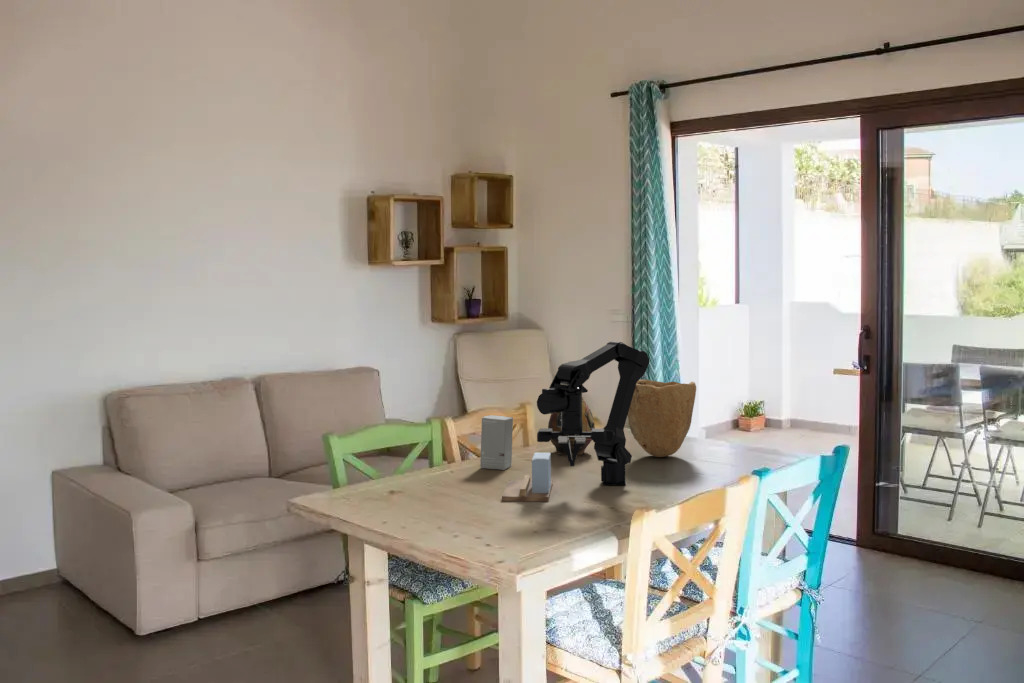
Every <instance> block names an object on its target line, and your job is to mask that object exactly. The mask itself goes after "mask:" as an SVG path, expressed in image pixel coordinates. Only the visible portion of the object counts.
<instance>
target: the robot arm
mask: <svg viewBox="0 0 1024 683" xmlns="http://www.w3.org/2000/svg"><path fill="white" fill-rule="evenodd" d="M613 361H616V362H617V370H618V374H619V380H618V383H617V387H616V390H615V394H614V397H613V402H612V404H611V408H610V412H609V416H608V419H607V422H606V425H605V426H604V427H603V428H595V429H592V432H582V431H583V421H582V397H583V393H588V392H589V390H588V389H587V388H586V387H585V386H584V384H585V383H586V382H587V381H588V380H590V377H591V375H592V374H593V373H594V372H595V371H597V370H599V369H602V367H604V366H606V365H607V364H609V363H610V362H613ZM649 365H650V357H649V355H648V353H647V352H646V351H645V350H639V349H636V348H634V347H631V346H629V345H627V344H625V343H623V342H622V341H613V340H612V341H608V342H607V343H606V345H603V346H602V347H600V348H599V349H596V350H595V351H593V352H592V353H589V354H588V355H587V356H584V357H583V358H581V359H577V360H573V361H568V362H565V363H561V364H560V365H559V366H558V368H557V371H556V373H555V376H554V377H553V379H552V381H551V383H550V385H549V388H542V390H541V393H540V394H539V396H537V397H538V398H537V400H536V406H537V410H538V411H539V413H541V414H542V415H551V413H557V412H561V415H557V427H561V432H553V430H552V428H548V427H547V428H546V427H545V428H543V427H542V428H539V429H538V431H537V433H536V442H538V443H549V442H551V438H558V440H559V442H558V445H562V447H563V449H564V451H565V453H566V455H565V456H566V457H567V460H568V463H569V466H570V467H574V466H575V462H576V459H577V456H578V455H577V454H578V451H579V449H580V447H581V445H585V440H586V439H592V441H593V443H594V444H593V449H594V451H595V454H596V457H597V460H598V461H599V462H602V465H601V466H600V479H601V481H600V482H602V485H603V486H626V485H627V480H626V465H628V464H631V461H632V456H633V455H632V454H631V453H630V451H629V450H628V449H627V448H626V442H627V439H626V436H625V431H624V430H625V425H626V422H627V420H628V412H629V408H630V405H631V401H632V398H633V394H634V391H635V387H636V384H637V381H638V380H641V378H642V377H643V376H644V375H645V374H646V372H647V369H648V367H649ZM570 439H575V442H574V449H573V455H571V448H570Z"/></svg>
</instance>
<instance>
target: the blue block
mask: <svg viewBox="0 0 1024 683" xmlns="http://www.w3.org/2000/svg"><path fill="white" fill-rule="evenodd" d="M551 453H552V452H534V453H533V456H532V459H531V481H532V493H549V490H550V486H551V481H552V461H551V460H552V458H551V456H552V454H551Z"/></svg>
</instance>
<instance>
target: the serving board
mask: <svg viewBox="0 0 1024 683" xmlns="http://www.w3.org/2000/svg"><path fill="white" fill-rule="evenodd" d="M553 484H554V483H553V480H551V486H550V490H549V493H532V480H531V475H529V474H527V475H526V474H524V478H523V479H522V480H508V482H507V484H506V486H505V488H504V491H503V494H502V495H501V502H550V496H551V493H552V490H553Z"/></svg>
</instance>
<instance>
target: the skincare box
mask: <svg viewBox="0 0 1024 683" xmlns="http://www.w3.org/2000/svg"><path fill="white" fill-rule="evenodd" d="M513 425H514V417H510V416H502V415H492V414H491V415H486V416H482V417H481V431H480V432H481V435H480V438H481V439H480V461H479V462H480V469H485V470H486V469H489V470H500V471H501V470H502V471H503V470H504V471H505V470H508V469H509V468H511V467H512V465H513V464H512V462H513V460H512V459H513V457H512V456H513V427H514V426H513Z"/></svg>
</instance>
